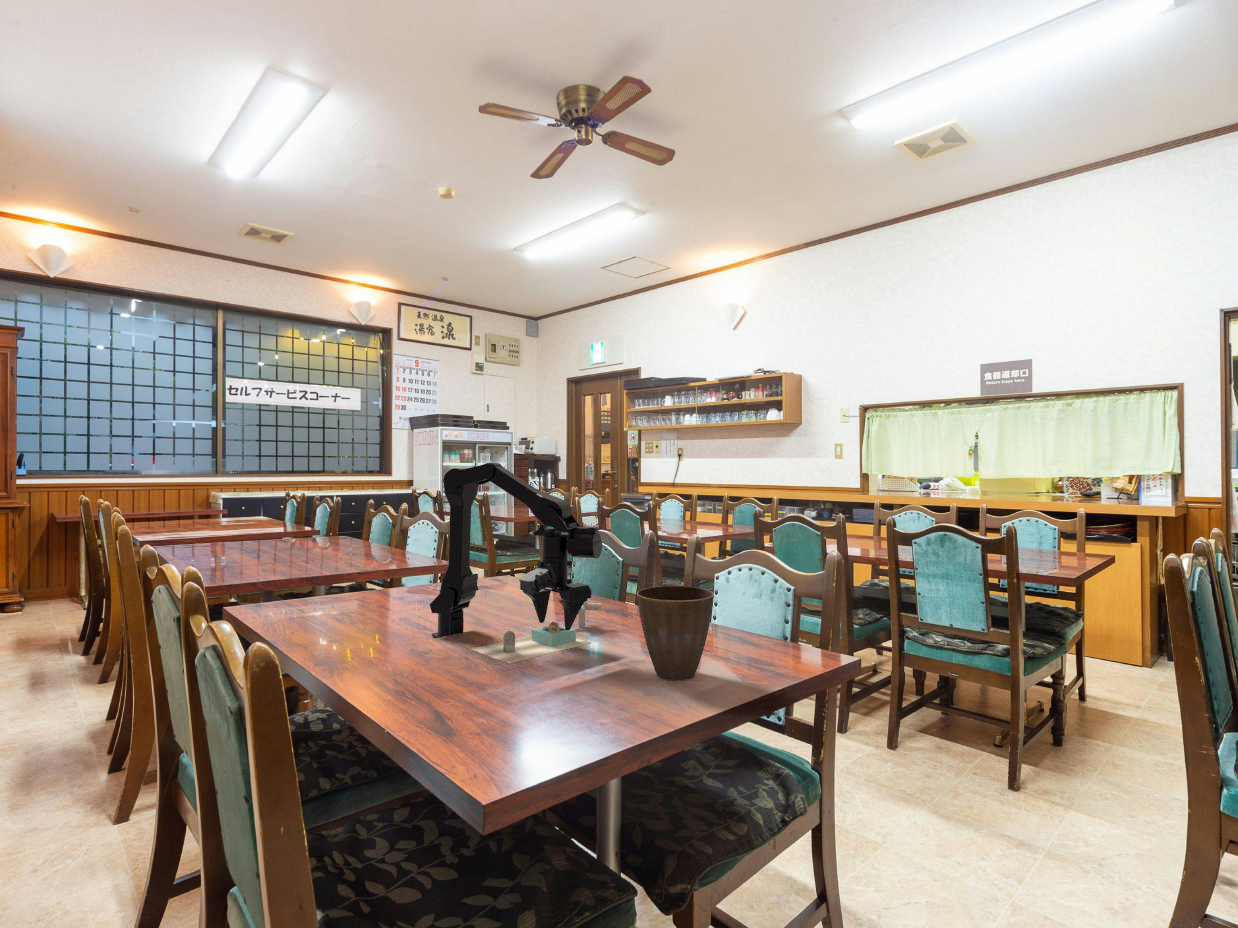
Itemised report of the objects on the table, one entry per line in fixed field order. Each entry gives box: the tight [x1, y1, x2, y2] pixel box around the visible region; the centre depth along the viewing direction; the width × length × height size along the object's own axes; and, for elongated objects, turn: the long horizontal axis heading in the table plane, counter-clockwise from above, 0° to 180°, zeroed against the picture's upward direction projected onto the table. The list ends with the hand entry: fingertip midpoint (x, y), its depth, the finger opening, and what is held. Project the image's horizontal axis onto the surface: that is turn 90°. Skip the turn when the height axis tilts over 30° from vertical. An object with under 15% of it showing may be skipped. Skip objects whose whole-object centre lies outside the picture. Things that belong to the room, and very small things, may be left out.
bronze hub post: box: [548, 621, 560, 633], centre depth 144 cm, size 2×2×4 cm
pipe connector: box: [561, 600, 603, 628], centre depth 163 cm, size 10×10×10 cm
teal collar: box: [531, 624, 577, 647], centre depth 144 cm, size 7×7×2 cm
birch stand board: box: [471, 630, 592, 664], centre depth 139 cm, size 14×22×6 cm, turn 135°
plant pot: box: [636, 585, 715, 682], centre depth 125 cm, size 15×15×16 cm
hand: (554, 626), depth 143 cm, fingers open, 9 cm apart
